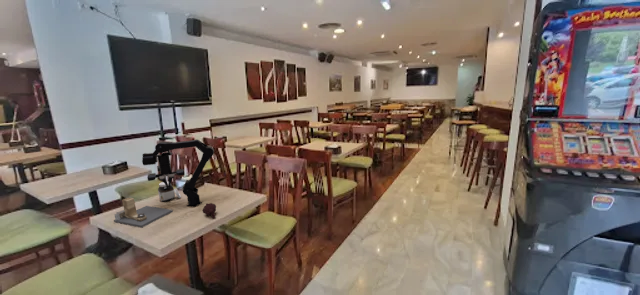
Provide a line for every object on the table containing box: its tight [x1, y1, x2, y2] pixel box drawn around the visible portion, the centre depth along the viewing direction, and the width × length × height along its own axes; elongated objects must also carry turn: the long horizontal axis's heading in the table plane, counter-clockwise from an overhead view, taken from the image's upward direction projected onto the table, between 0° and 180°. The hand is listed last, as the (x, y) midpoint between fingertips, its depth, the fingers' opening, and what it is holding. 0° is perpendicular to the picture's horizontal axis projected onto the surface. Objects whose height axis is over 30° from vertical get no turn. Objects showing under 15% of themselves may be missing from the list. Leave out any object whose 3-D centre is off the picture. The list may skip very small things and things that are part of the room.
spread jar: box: [157, 180, 182, 203], centre depth 173 cm, size 12×11×12 cm
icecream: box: [201, 202, 217, 219], centre depth 149 cm, size 7×7×15 cm
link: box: [121, 197, 147, 221], centre depth 145 cm, size 16×4×10 cm, turn 67°
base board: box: [113, 205, 174, 229], centre depth 150 cm, size 22×19×1 cm
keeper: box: [113, 209, 145, 220], centre depth 147 cm, size 14×16×4 cm
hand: (168, 188), depth 157 cm, fingers closed
